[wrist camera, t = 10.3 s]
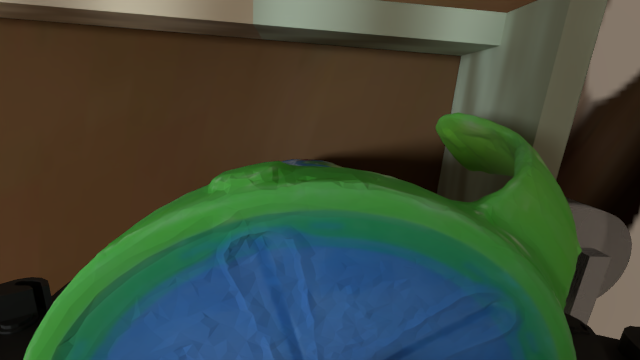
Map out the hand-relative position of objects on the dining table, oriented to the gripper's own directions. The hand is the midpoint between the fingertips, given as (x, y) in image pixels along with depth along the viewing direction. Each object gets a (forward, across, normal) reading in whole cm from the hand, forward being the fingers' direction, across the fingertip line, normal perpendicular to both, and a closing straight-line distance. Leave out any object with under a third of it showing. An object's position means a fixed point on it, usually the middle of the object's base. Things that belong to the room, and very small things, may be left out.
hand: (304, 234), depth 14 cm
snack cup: (+1, 0, 0) cm, 1 cm away
